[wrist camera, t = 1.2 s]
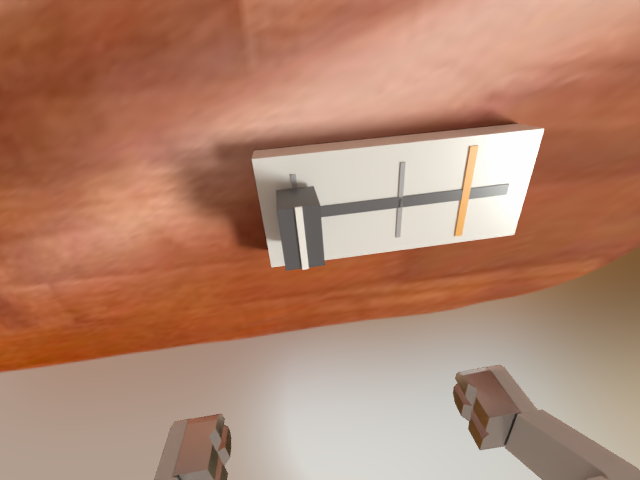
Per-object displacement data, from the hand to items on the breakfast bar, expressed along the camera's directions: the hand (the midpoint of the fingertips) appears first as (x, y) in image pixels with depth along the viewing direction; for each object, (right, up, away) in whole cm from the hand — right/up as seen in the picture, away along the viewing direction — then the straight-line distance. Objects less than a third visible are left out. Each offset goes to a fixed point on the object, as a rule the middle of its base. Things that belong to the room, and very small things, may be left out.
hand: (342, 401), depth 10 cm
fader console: (+6, +10, +18) cm, 22 cm away
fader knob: (-3, +8, +15) cm, 17 cm away
